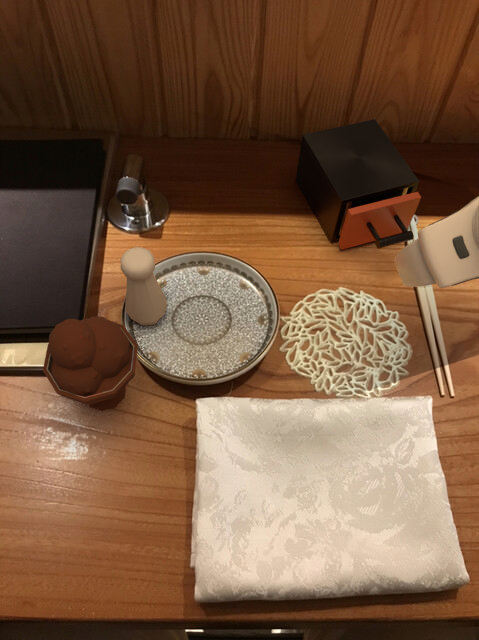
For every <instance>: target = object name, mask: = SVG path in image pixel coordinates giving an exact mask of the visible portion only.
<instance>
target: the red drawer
mask: <svg viewBox="0 0 479 640" xmlns="http://www.w3.org/2000/svg"><path fill="white" fill-rule="evenodd" d="M407 190H408V188H405V189H401V190H397V191H393V192H389V193H385V194H381V195H376V196H372V197H368V198H364V199H360V200H356V201H352V202H348V203H346V205H345V208H344V212H343V216H342V219H341V223H340V227H339V230H338V235H340V239H339V242H337V245H338V246H339V248H340V250H345V249H348V248H352V247H356V246H359V245H364V244H368V243H371V242H374V243H375V244H374V245H375V247H376V248H377V249H378V250H380V249H383V248H388V247H391V246H395V245H399V244H402V243H405V242H410V241H414V236H415V235H414V232H413V231H412V230H409V227H410V225H411V222H412V220H413V218H414V216H415V213H416V211H417V208H418V206H419V204H420V201H421V199H422V196H421V194H420V193H419V191H415V192H414V193H410V194H406V193H407Z"/></svg>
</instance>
